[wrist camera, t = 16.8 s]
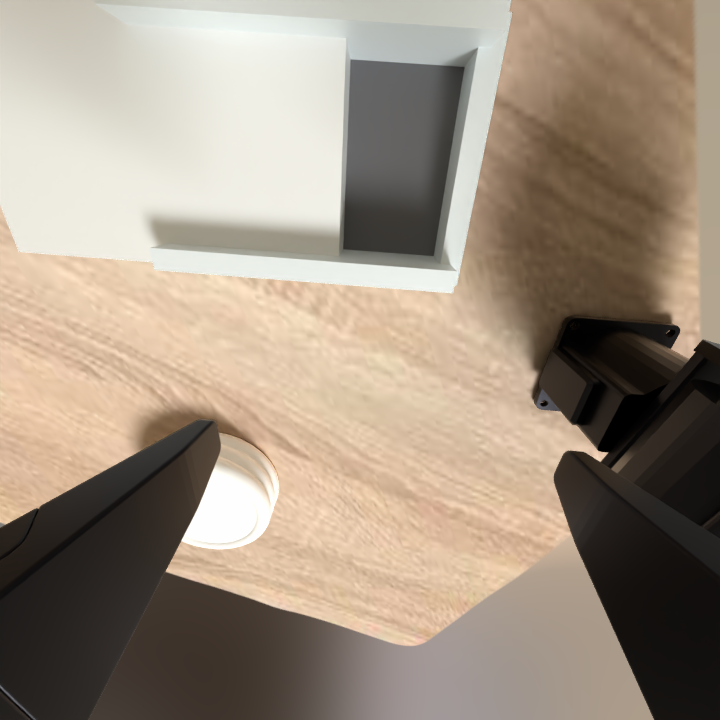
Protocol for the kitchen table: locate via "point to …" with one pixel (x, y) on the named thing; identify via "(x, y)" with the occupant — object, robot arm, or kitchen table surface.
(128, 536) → the robot arm
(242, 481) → the white short cylinder
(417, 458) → the kitchen table surface
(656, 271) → the kitchen table surface
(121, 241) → the channel
